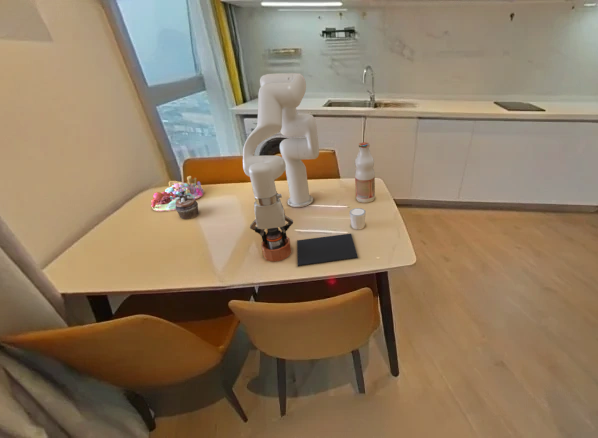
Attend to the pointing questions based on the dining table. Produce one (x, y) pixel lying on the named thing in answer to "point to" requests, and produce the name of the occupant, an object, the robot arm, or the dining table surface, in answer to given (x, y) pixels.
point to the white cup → (357, 218)
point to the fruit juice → (364, 174)
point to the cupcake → (186, 206)
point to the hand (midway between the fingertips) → (275, 240)
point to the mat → (325, 249)
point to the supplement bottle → (274, 238)
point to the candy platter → (175, 194)
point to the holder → (276, 251)
